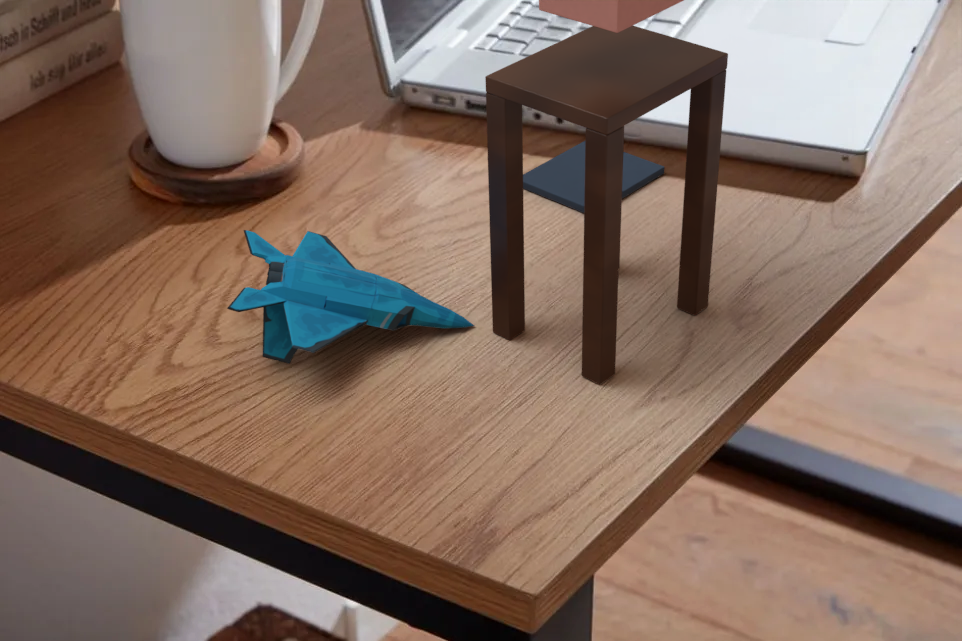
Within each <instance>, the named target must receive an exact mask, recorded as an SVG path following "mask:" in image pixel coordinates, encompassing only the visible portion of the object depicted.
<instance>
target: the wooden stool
mask: <svg viewBox="0 0 962 641" xmlns="http://www.w3.org/2000/svg"><path fill="white" fill-rule="evenodd" d="M728 59H729V53H728V52H724V51H721V50H718V49H714V48H711V47H707V46H704V45H701V44H698V43H694V42H690V41H687V40H685V39H680V38H677V37H674V36H671V35H667V34H663V33H660V32H658V31H657V32H656V31H653V30H649V29H646V28H643V27H639V26H636V25H633V26H631V27H629V28H627V29H625V30H623V31H621V32H619V33H615V32H612V31H608V30H605V29H602V28H598V27H595V26H592V25H591V26H590V27H588V28H585V29H583V30H581V31H579V32H577V33H574V34H572V35H571V36H569V37H566V38H564V39H562V40H560V41H558V42H555V43H553V44H551V45H549V46H547V47H545V48H543V49H540V50H539V51H536V52H533V53H532V54H530V55H528V56H526V57H524V58H522V59H519V60H517V61H515V62H513V63H511V64H509V65H507V66H504V67H502V68H500V69H498V70H496V71H494V72H492V73H489V74H487V75H486V76H485V78H484V79H485V110H486V113H485V114H486V144H487V146H486V147H487V177H488V179H487V181H488V183H487V184H488V214H489V215H488V216H489V217H488V218H489V244H490V245H489V246H490V248H489V249H490V250H489V251H490V274H491V275H490V280H491V282H490V283H491V284H490V286H491V287H490V288H491V314H492V315H491V316H492V317H491V318H492V319H491V320H492V321H491V322H492V332H493V333H495V334H497V335H498V336H500V337H502V338H504V339H506V340H509V341H511V340H513V339H514V338H515V337H517V336H519V335H521V334H522V333H524V332H525V330H526V311H525V310H526V307H525V306H526V304H525V303H526V302H525V301H526V298H525V296H526V294H525V291H526V290H525V237H524V236H525V227H524V226H525V225H524V224H525V221H524V220H525V219H524V218H525V217H524V216H525V214H524V189H523V174H524V156H523V155H524V149H523V148H524V145H523V144H524V143H523V142H524V141H523V140H524V139H523V135H524V134H523V107H526V108H529V109H533V110H535V111H538V112H541V113H543V114H546V115H549V116H552V117H554V118H557V119H560V120H563V121H566V122H569V123H572V124H575V125H577V126H580V127H583V128H585V137H584V139H585V140H584V141H585V197H584V213H583V259H582V260H583V263H582V264H583V266H582V318H581V319H582V321H581V322H582V326H581V330H582V331H581V376H582V377H583V378H585V379H587V380H589V381H592V382H594V383H595V384H598V385H602V384H603V383H605V382H606V381H608V380H609V379H611V378H612V377H613V376H615V375H616V361H617V360H616V358H617V332H618V331H617V328H618V302H619V301H618V300H619V274H620V273H619V270H620V262H621V236H622V234H621V233H622V208H623V207H622V205H623V204H622V203H623V199H622V179H623V152H624V148H625V147H624V145H625V126H627V125H628V124H630V123H631V122H634V121H635V120H637V119H639V118H641V117H643V116H644V115H646V114H648V113H650V112H651V111H653V110H655V109H657V108H659V107H660V106H662V105H665V104H666V103H668V102H670V101H671V100H673V99H675V98H677V97H678V96H680V95H682V94H684V93H686V92H688V91H690V95H689V110H688V123H687V124H688V125H687V126H688V127H687V143H686V155H685V156H686V157H685V171H684V172H685V174H684V188H683V204H682V217H681V218H682V221H681V235H680V252H679V267H678V268H679V269H678V283H677V298H676V308H677V309H678V310H681V311H683V312H686V313H687V314H690V315H693V316H697V315H698V314H700V313H701V312H702V311H704V310H706V309H707V308H708V306H709V298H710V286H711V285H710V283H711V271H712V262H713V259H712V258H713V248H714V235H715V234H714V233H715V222H716V211H717V210H716V208H717V196H718V184H719V170H720V157H721V145H722V135H723V134H722V132H723V120H724V108H725V105H724V104H725V96H726V95H725V94H726V82H727V69H728V62H729V61H728Z"/></svg>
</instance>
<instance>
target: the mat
mask: <svg viewBox="0 0 962 641" xmlns="http://www.w3.org/2000/svg"><path fill="white" fill-rule="evenodd" d="M665 168H666V167H665V166H664V165H661V164H659V163H655V162H653V161H650V160H649V159H645V158H642V157H640V156H637V155H634V154H632V153H629V152H625V151H623V179H622V200H623V199H624V198H626V197H628V196H630V195H631V194H632V193H634V192H636V191H637V190H639V189H641V188H642V187H645V186H646V185H648V184H649V183H651V182H653V181H654V180H656V179H657V178H660V177H661V176H662V175H664V174H665ZM523 190H526V191H528V192H530V193H532V194H536V195H538V196H540V197H543V198H545V199H548V200H550V201H553V202H556V203H558V204H560V205H563V206H565V207H568V208H570V209H573V210H575V211H577V212H580V213H582V214H584V197H585V140H583V141H582V142H580V143H578V144H576V145H574V146H572V147H571V148H569V149H567V150H565V151H563V152H562V153H560V154H557V155H556V156H554V157H552V158H550V159H549V160H547V161H545V162H543V163H541V164H540V165H538V166H536V167H534V168H532V169H530V170H529V171H526V172H525V173H523Z"/></svg>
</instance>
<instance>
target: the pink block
mask: <svg viewBox="0 0 962 641" xmlns="http://www.w3.org/2000/svg"><path fill="white" fill-rule="evenodd" d="M684 1H685V0H538V10H539V11H541V12H545V13H547V14H551V15H555V16H558V17H561V18H565V19H569V20H571V21H575V22H579V23H582V24H585V25H587V26H588V25H589V26H591V27H592V26H595V27H598V28H602V29H605V30H608V31H612V32H615V33H619V32H621V31H623V30H625V29H627V28H629V27H631V26H636V25H637V24H639V23H641V22H643V21H644V20H647V19H649V18H651V17H653V16H655V15H657V14H659V13H662V12H664V11H666V10H668V9H669V8H671V7H674V6H675V5H678V4H680V3H681V2H684Z"/></svg>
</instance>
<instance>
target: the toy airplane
mask: <svg viewBox="0 0 962 641" xmlns="http://www.w3.org/2000/svg"><path fill="white" fill-rule="evenodd" d="M243 233H244V237H245V240H246V244H247V247H248V250H249V253H250V255H252V256H253V257H256V258H259V259H262V260H264V263H265V264H268V270H267V277H266V281H265V285H264V286H263V287H261V288H260V289H257V288H253V287H250V286H246V287H243V288H242V289H241V291H240V292H239V293H238V295H236V296H235V298H234V299H233V300H232V302H231V303H230V304H229V305H228V307H226V309H228V310H229V311H233V312H237V313H243V312H247V311H251V310H257V309H262V310H263V312H262V313H263V314H262V315H263V316H262V358H265V359H269V360H272V361H275V362H280V363H285V364H288V365H289V364H290V363H291V362H292V360H293V359H294V356H295V355H296V353H297V352H298V350H300V351H305V352H309V353H311V354H315V353H317V352H318V351H320V350H322V349H323V348H325V347H327V346H328V345H330V344H332V343H334V342H336V341H337V340H339V339H341V338H343V337H345V336H347V335H349V334H351V333H353V332H355V331H357V330H358V329H360V328H363V327H364V326H371V327H374V328H380V329H384V330H389V331H394V332H395V331H397V330H401V329H403V328H406V327H409V326H415V327H427V328H434V329H435V328H436V329H462V328H463V329H464V328H471V327H475V324H473V323H472V322H470V321H469V320H468V319H467V318H465V317H464V316H463V315H460V314H458V313H457V312H456V311H454V310H452V309H451V308H448V307H447V306H443V305H442V304H439V303H437V302H435V301H433V300H431V299H429V298H428V297H427V298H426V297H425V296H423V295H421V294H420V293H418V292H417V291H415V290H413V289H411V288H410V287H409V286H407V285H405V284H403V283H400V282H398V281H395V280H392V279H390V278H387V277H384V276H382V275H379V274H376V273H372V272H368V271H365V270H360V269H357V268H356V267H355V266H354V265H353V264H352V262H351V261H350V260H349V259H348V258H347V257H346V256H345V255H344V254H343V252H342V251H341V250H340V249H339V248H338V247H337V246H336V245H335V244H334V243H333V242H332V240H331V239H330V238H329V237H328V236H327V235H323V234H320V233H316V232H313V231H311V230H310V231H309V230H307V232H306V233H305V234H304V236H303V238H302V240H301V241H300V243H299V244H298V246H297V248H296V249H295V251H294V252H293V254H292V255H289V254H285V253H283V252H282V251H280V250H279V249H278V248H276V247H275V246H274V245H273V244H271V243H270V242H268V241H267V240H266V239H265V238H263V237H262V236H260V235H259V234H258V233H256V232H255V231H251V230H248V229H243Z"/></svg>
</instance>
